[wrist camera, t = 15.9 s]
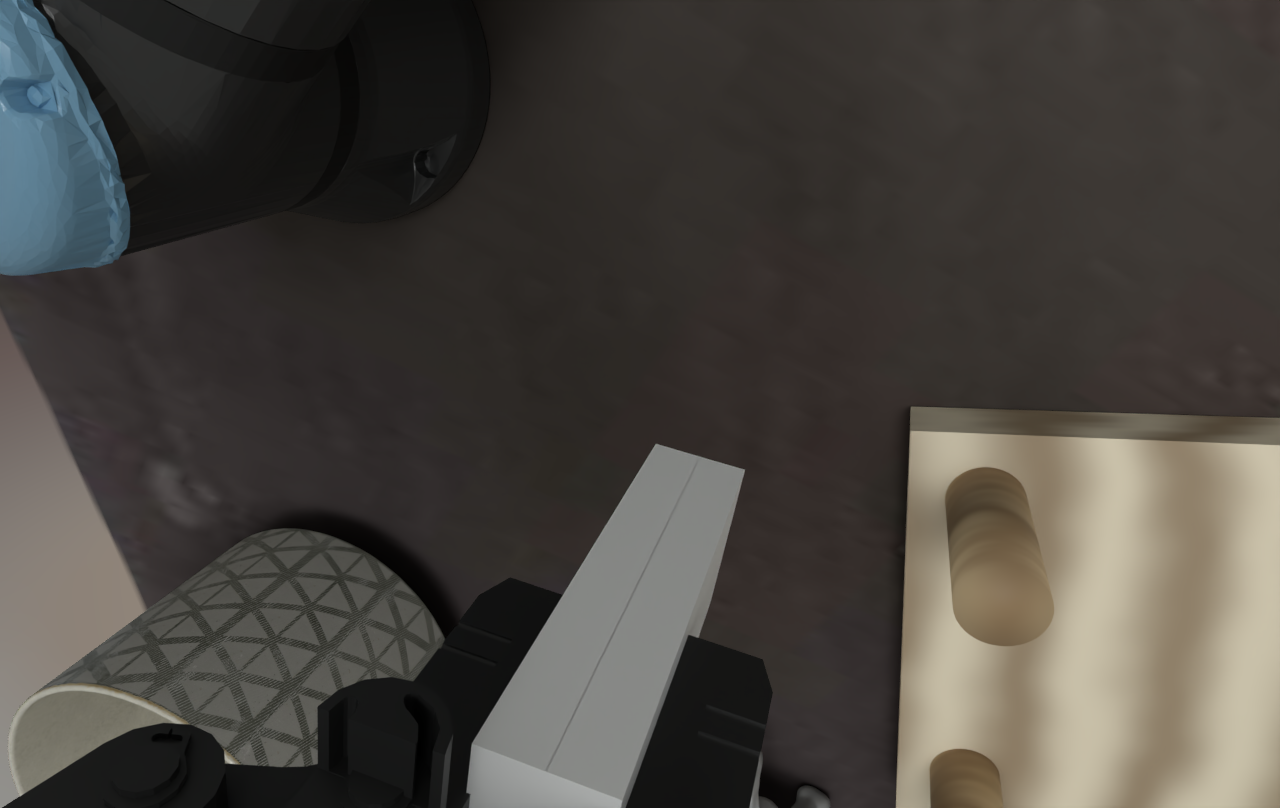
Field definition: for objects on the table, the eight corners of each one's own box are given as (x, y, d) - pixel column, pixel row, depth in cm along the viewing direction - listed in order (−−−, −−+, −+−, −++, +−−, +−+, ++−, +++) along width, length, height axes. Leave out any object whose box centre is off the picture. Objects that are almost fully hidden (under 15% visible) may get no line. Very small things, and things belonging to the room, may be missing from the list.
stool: (896, 771, 51) (892, 951, 41) (910, 406, 42) (910, 521, 32) (1392, 848, 44) (1537, 1091, 33) (1536, 425, 35) (1793, 583, 25)
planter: (351, 754, 66) (170, 982, 50) (197, 562, 62) (-49, 741, 46) (529, 687, 57) (381, 936, 41) (363, 462, 54) (132, 638, 38)
